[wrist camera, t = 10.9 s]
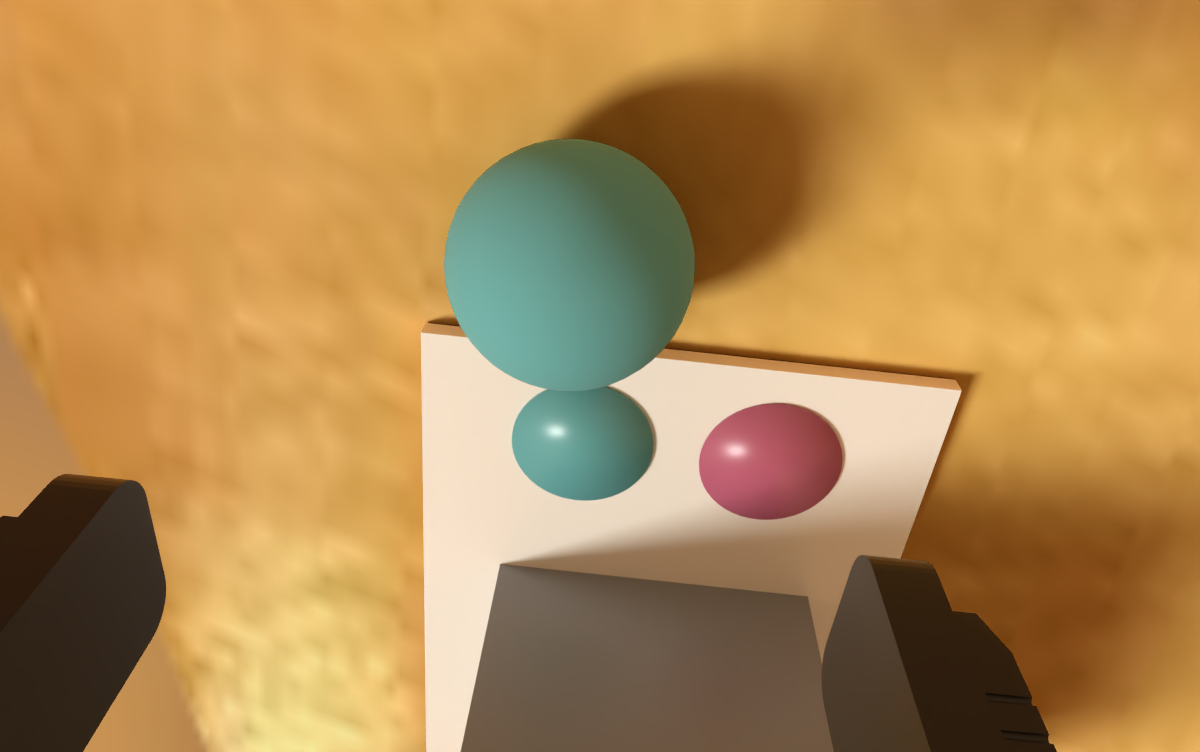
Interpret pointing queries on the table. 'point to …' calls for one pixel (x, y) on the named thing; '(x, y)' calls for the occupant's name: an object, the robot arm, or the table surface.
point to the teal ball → (569, 265)
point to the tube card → (654, 545)
